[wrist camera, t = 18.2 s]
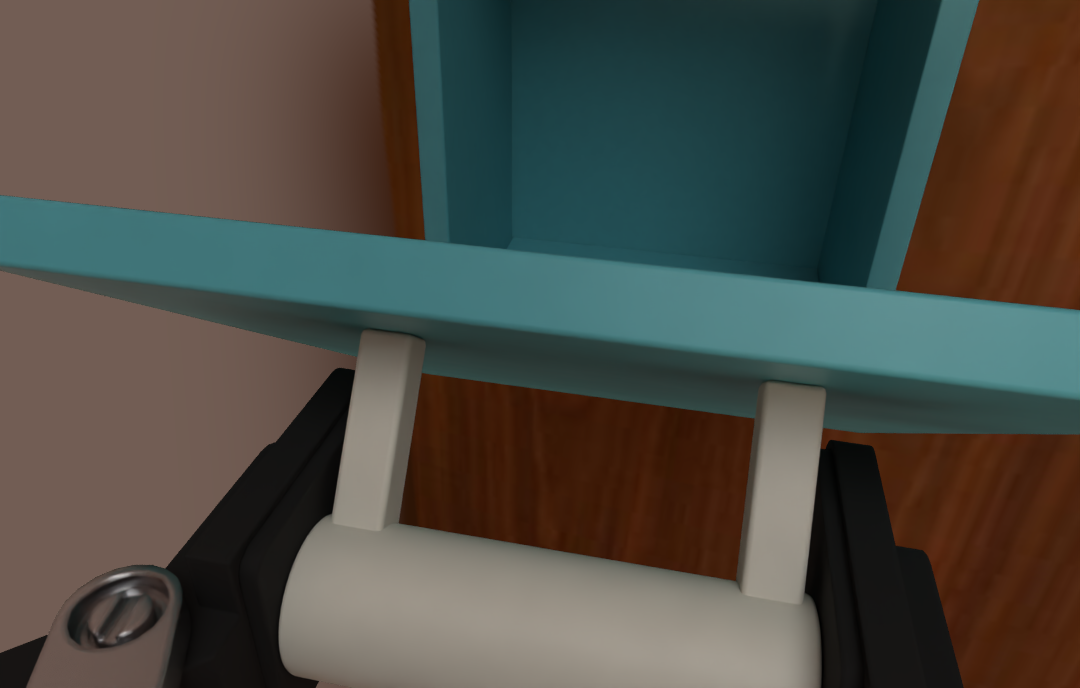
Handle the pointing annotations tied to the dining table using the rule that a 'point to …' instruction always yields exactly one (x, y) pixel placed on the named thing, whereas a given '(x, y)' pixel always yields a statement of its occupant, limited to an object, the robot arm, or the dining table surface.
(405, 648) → the lid
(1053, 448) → the dining table surface
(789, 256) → the teal wooden box
